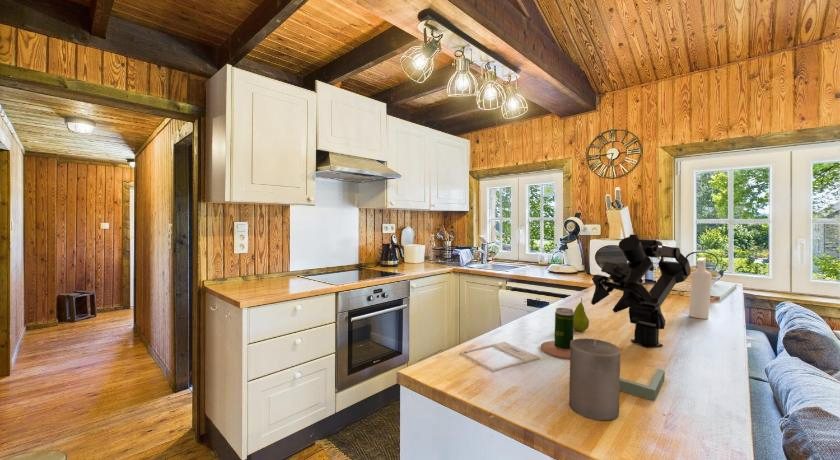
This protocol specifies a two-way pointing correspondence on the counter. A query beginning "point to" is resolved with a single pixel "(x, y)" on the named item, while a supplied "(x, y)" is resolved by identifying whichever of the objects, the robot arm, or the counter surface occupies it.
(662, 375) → the green u-shaped bracket
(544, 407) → the counter surface
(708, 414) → the counter surface
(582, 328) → the fruit
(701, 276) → the beige bottle
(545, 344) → the saucer
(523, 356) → the photo frame
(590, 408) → the pillar candle
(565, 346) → the beer can
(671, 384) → the counter surface
